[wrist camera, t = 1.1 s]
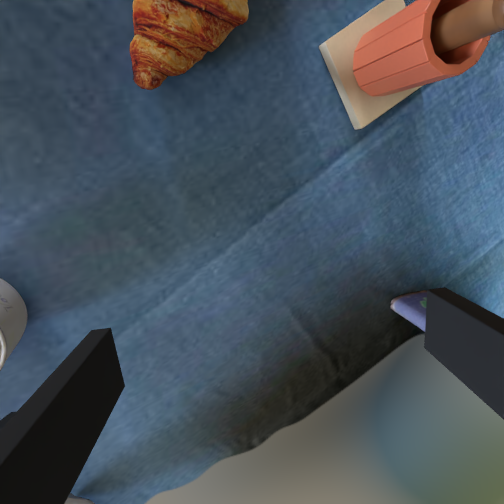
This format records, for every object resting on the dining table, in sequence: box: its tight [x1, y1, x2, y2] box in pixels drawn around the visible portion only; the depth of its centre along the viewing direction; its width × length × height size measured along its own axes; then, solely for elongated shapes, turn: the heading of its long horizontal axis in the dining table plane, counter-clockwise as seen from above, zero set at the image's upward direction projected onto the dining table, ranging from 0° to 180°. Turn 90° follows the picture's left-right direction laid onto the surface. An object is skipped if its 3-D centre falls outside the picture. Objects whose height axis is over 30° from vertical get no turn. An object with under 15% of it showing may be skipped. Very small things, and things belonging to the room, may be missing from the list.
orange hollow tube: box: [353, 0, 490, 96], centre depth 29 cm, size 7×7×10 cm
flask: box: [391, 290, 427, 332], centre depth 43 cm, size 9×3×11 cm, turn 90°
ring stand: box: [319, 0, 504, 130], centre depth 27 cm, size 10×10×18 cm
